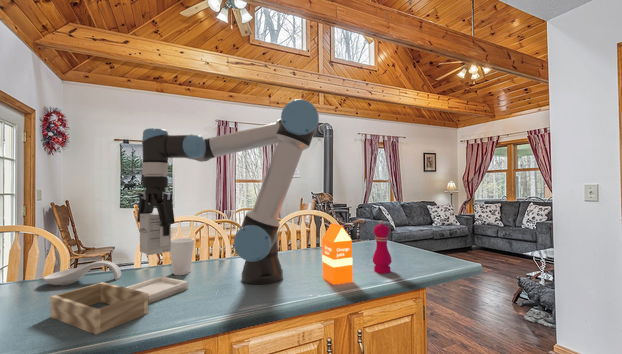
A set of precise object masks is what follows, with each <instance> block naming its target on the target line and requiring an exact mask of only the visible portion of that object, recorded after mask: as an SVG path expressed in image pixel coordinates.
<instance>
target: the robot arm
mask: <svg viewBox="0 0 622 354" xmlns="http://www.w3.org/2000/svg"><path fill="white" fill-rule="evenodd" d="M280 114H281V115H280V118H279V119H277V120H276V121H275V122H273V123H268V124H265V125H260V126H256V127H252V128H247V129H243V130H238V131H235V132H234V131H233V132H230V133H225V134H221V135H216V136H212V137H208V138H204V137H203V136H202V135H198V134H185V135H184V134H183V135H182V134H181V135H179V134H177V135H172V134H171V135H170V134H169V132H168V130H167V129H162V128H153V127H152V128H151V127H150V128H145V129H144V130H143V131H142V140H141V144H142V165H141V166H142V167H141V168H142V169H141V172H142V173H141V175H142V176H143V177H142V178H141V179H142V181H141V182H142V184H141V185H142V188H143V189H145V192H139V194H138V199H139V201H138V210H137V211H138V212H137V219H136V221H137V223H140V214H147V213H154V208H156V210H157V213H158V214H159V217H160V220H161V225H160V247H164V246H168V245H169V234H170V225H171V226H172V225H173V224H175V223H176V222H175V214H174V213H175V212H174V207H173V193H172V192H170V193H169V192H167V191H166V188H168V187H169V177H168V176H167V175H168V173H169V172H168V170H169V167H168V166H169V165H168V163H169V159H189V160H194V161H197V162H201V163H202V162H208V161H210V160H211V159H214V158H218V157H219V158H220V157H222V156H223V157H224V156H227V155H231V154H236V153H240V152H245V151H249V150H253V149H257V148H263V147H267V146H272V145H276V144H277V145H276V147H275V150H274V152H273V155H272V158H271V160H270V162H269V166H268V169H267V171H266V173H265V176H264V179H263V181H262V184H261V186H260V189H259V193H258V195H257V198H256V200H255V202H254V205H253V208H252V209H251V210H250V211H248V212H246V214H245V216H244V219H243V221H242V224H241V227H240V228H239V229H238V230H237V232H236V233H235V235H234V238H233V247H234V250H235V253H236V254H237V256H238V257H240V258H241V259H242V260H244V261H245V262H244V264H243V268H242V271H241V281H242V282H244V283H245V284H249V285H267V284H272V283H276V282H279V281H281V280H282V279H283V278H284V275H283V274H284V273H283V271H284V270H283V268H282V264H281V262H280V259H279V254H278V250H279V247H278V246H279V243H278V242H279V240H278V233H279V232H278V231H279V229H280V226H281V224H280V222H279V219H278V217H279V215H280V213H281V209H282V206H283V204H284V202H285V199H286V197H287V193H288V191H289V188H290V185H291V183H292V181H293V177H294V175H295V172H296V169H297V167H298V164H299V162H300V159H301V157H302V154H303V152H304V151H305V150H308V149H309V148H310V146H311V143H312V140H313V137H314V136H315V134H316V133H317V130H318V127H319V126H318V124H319V121H320V118H319V117H320V115H319V113H318V110H317V108H316V107H315V105H314V104H313V103H311V102H310V101H309V100H306V99H302V98H301V99H300V98H299V99H293V100H291V101H289V102H287V103H286V104H285V106H284V107H283V109H282V111H281V113H280Z"/></svg>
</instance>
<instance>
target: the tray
mask: <svg viewBox="0 0 622 354" xmlns="http://www.w3.org/2000/svg"><path fill="white" fill-rule="evenodd" d="M125 288H129V289H133V290H137V291H141V292H145V293H148V305H149V304H153V303H154V302H157V301H160V300H162V299H165V298H168V297H170V296H173V295H176V294H178V293H181V292H183V291H186V290H188V289H189V281H187V280H182V279H177V278H171V277H166V276H161V275H160V276H157V277H154V278H151V279H148V280H145V281H142V282H138V283H135V284H131V285H129V286H126V287H125Z"/></svg>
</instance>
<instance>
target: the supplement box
mask: <svg viewBox="0 0 622 354" xmlns="http://www.w3.org/2000/svg"><path fill="white" fill-rule="evenodd" d="M160 225H161V220H160V217H159V214H158V212H152V213H147V214H140V222H139V252H140V253H143V254H145V255H146V256H150V255H152V256H153V255H157V254H163V253H170V251H171V240H172V236H171V235H172V234H171V233H172V232H171V231H172V229H171V227H172V224H171V225H170V234H169V245H168V246H164V247H160Z"/></svg>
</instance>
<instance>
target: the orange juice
mask: <svg viewBox="0 0 622 354" xmlns="http://www.w3.org/2000/svg"><path fill="white" fill-rule="evenodd" d="M321 241H322V242H321V243H322V244H321V245H322V246H321V248H322V249H321V250H322V251H321V252H322V254H321V257H322V258H321V259H322V278H323V279H324V280H325V281H327V282H328V283H330V284H332V285H333V284H334V285H335V284H337V285H341V284H340V283H342V284H347V282H348V283H353V282H354V281H353V279H354V278H353V275H354V273H353V265H354V264H353V240H352V238H351V237H350V235H349V234H348V232H347V230H345V228H344V226H343V225H341V224H337V223H333V222H330V225H329V226H328V228H327V230H326V232H325V234H324V236H323V237H322V239H321ZM335 286H336V285H335Z"/></svg>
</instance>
